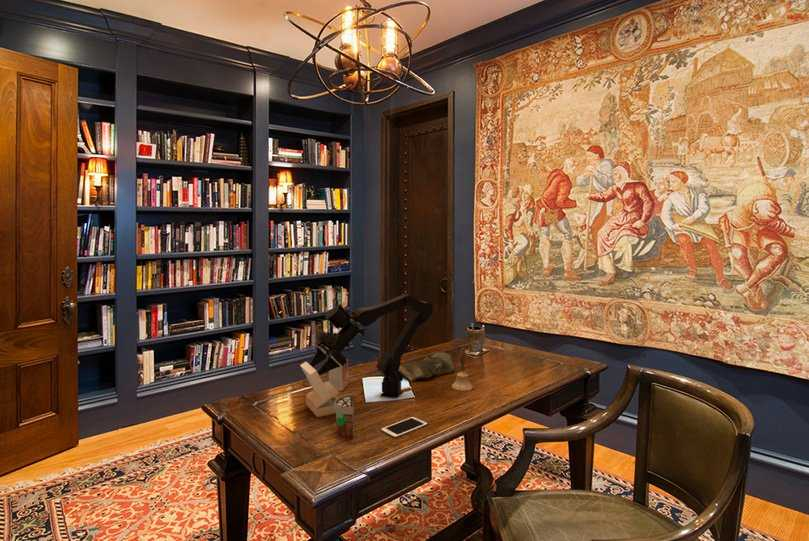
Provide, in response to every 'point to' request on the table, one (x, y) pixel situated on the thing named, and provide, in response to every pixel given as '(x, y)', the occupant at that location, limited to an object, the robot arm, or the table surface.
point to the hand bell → (462, 375)
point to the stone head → (427, 367)
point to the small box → (339, 377)
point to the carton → (322, 407)
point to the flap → (318, 386)
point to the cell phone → (403, 427)
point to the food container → (345, 415)
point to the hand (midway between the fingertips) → (313, 370)
